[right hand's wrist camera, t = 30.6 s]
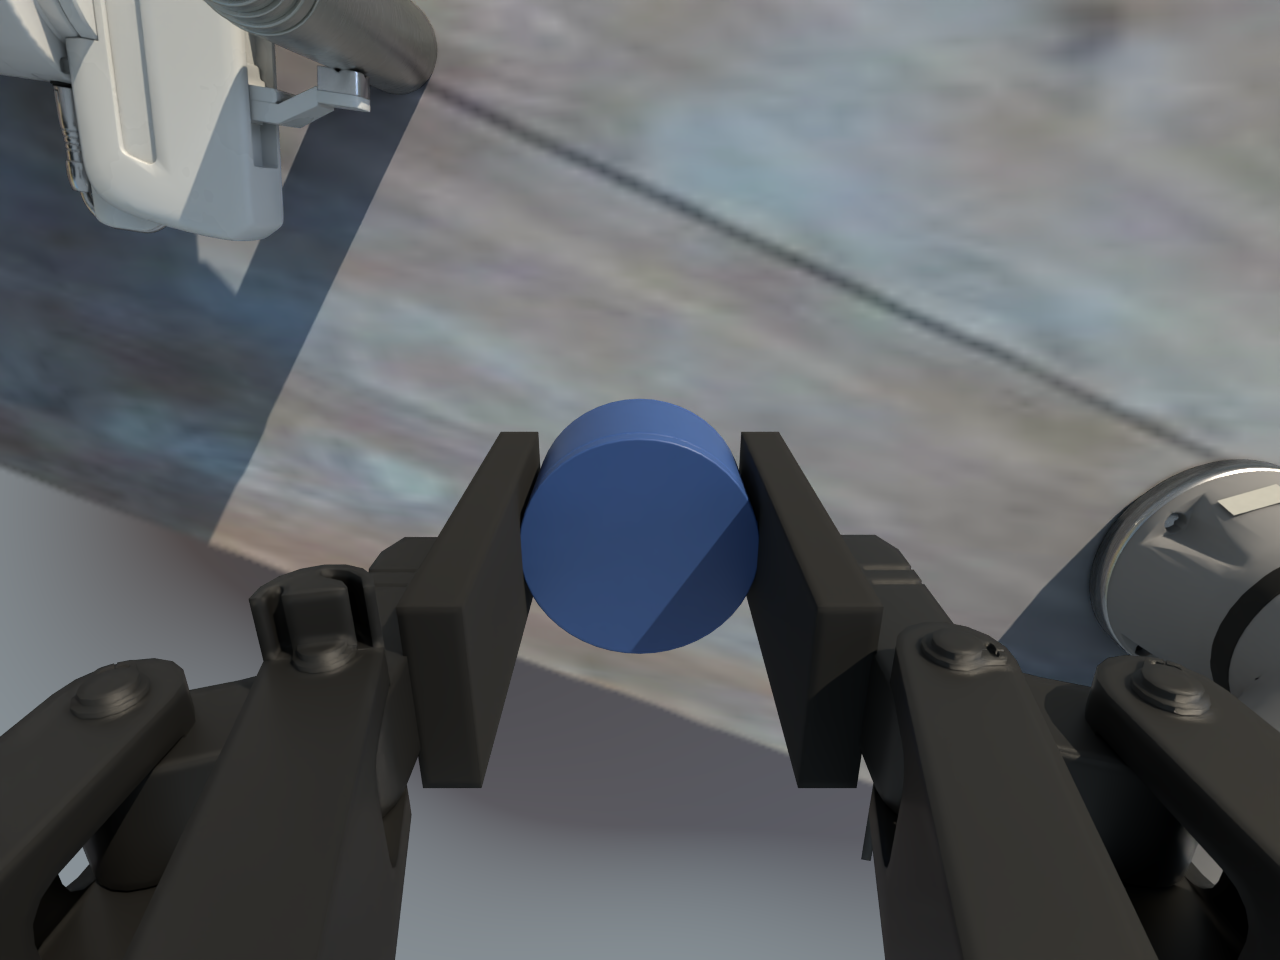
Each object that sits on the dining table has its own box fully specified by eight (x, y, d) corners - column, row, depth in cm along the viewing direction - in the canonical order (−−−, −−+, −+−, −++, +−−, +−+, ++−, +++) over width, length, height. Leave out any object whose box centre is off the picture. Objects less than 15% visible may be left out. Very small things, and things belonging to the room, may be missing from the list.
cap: (497, 462, 14) (469, 513, 12) (678, 358, 13) (687, 392, 11) (605, 614, 15) (599, 689, 13) (775, 528, 15) (801, 591, 12)
